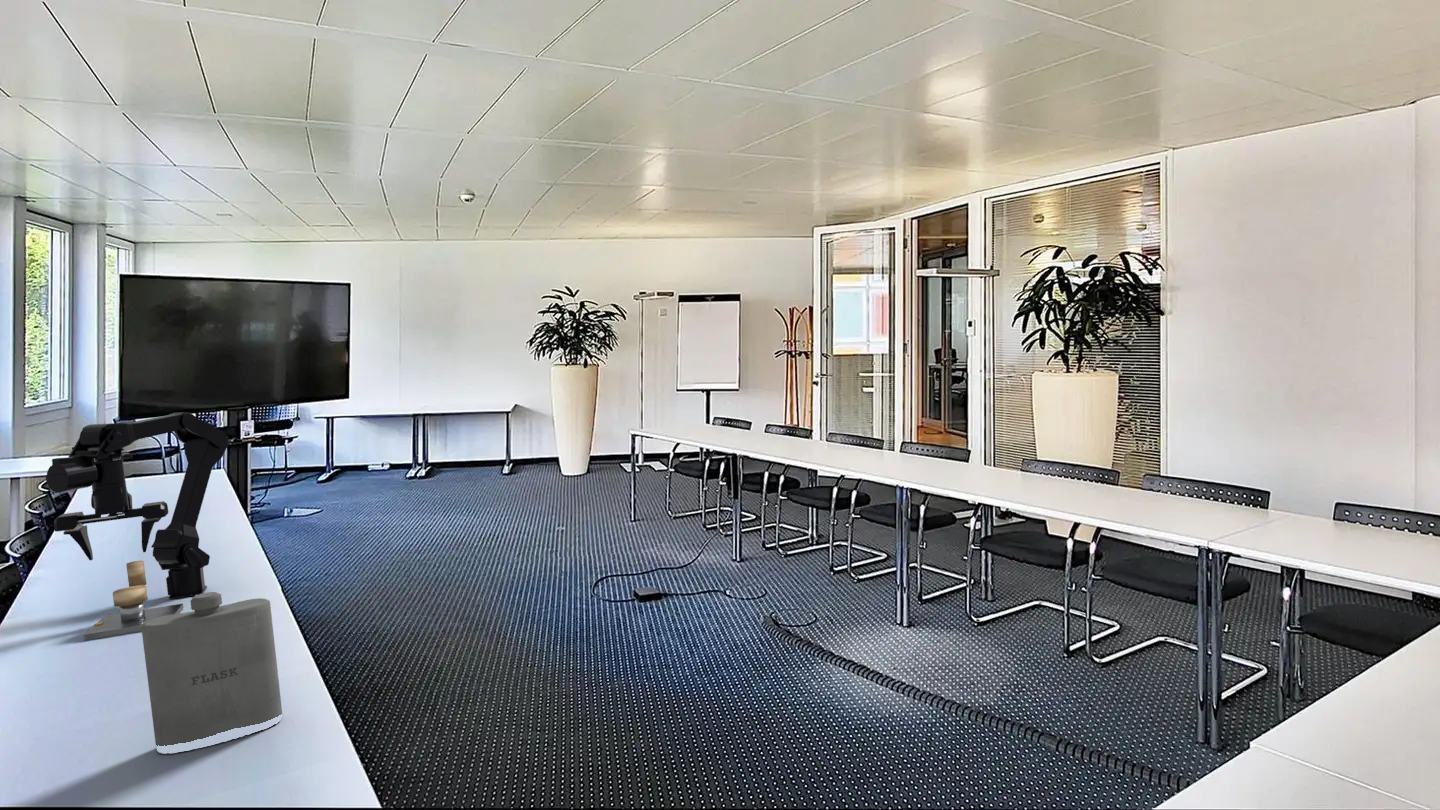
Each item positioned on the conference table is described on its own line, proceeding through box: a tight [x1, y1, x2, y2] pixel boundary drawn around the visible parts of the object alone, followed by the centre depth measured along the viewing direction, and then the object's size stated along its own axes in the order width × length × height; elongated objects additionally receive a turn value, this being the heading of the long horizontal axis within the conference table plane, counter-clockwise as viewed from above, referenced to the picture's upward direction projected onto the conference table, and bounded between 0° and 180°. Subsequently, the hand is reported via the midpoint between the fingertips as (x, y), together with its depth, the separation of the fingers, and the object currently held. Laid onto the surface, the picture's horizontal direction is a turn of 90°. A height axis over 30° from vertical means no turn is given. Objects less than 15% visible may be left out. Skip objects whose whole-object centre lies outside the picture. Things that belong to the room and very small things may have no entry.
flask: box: [141, 591, 283, 746], centre depth 111 cm, size 15×6×20 cm, turn 122°
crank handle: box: [112, 560, 149, 607], centre depth 168 cm, size 10×6×7 cm, turn 23°
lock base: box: [83, 602, 185, 642], centre depth 166 cm, size 14×13×4 cm
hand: (118, 555), depth 171 cm, fingers open, 9 cm apart
